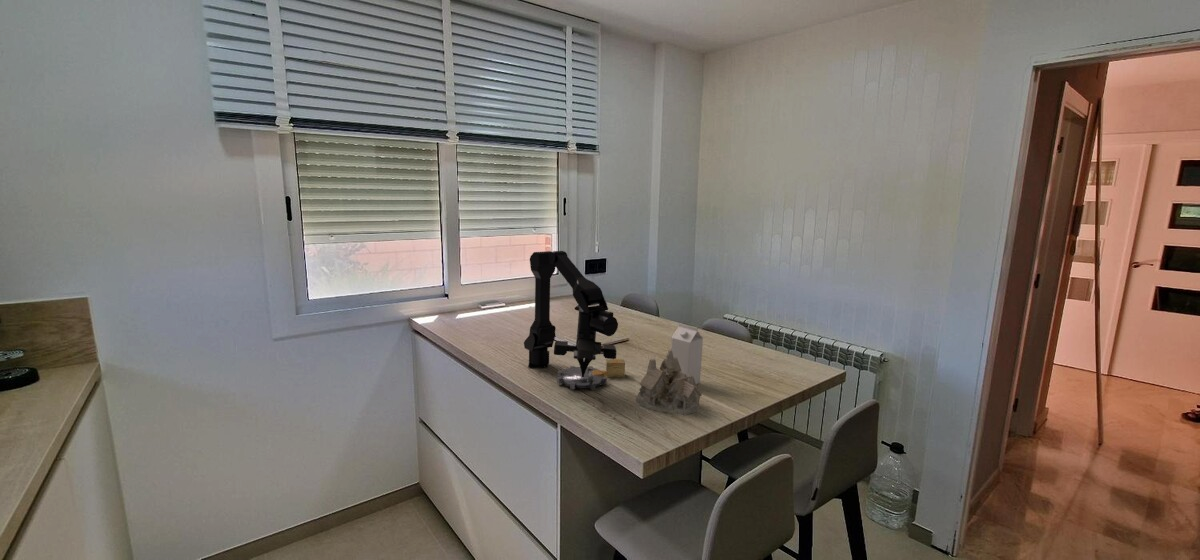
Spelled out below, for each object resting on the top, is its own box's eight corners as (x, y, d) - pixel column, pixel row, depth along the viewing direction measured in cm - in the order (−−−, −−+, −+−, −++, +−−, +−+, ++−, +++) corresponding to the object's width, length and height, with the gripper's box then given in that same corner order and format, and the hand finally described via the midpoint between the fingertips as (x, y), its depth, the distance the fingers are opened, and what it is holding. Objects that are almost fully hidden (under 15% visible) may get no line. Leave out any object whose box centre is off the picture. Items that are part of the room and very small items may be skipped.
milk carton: (682, 377, 158) (685, 321, 155) (700, 383, 153) (704, 326, 150) (668, 382, 153) (672, 325, 150) (687, 388, 148) (690, 329, 145)
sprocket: (568, 393, 141) (568, 374, 140) (548, 374, 155) (549, 357, 154) (617, 385, 148) (617, 367, 147) (594, 368, 162) (594, 351, 161)
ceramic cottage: (629, 396, 141) (635, 348, 138) (677, 391, 147) (684, 346, 144) (654, 422, 127) (661, 370, 124) (706, 416, 133) (714, 366, 130)
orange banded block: (606, 377, 156) (606, 362, 155) (605, 373, 160) (606, 359, 159) (624, 377, 157) (625, 362, 156) (623, 373, 160) (623, 359, 159)
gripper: (554, 332, 135) (550, 384, 137) (619, 337, 136) (614, 389, 138) (556, 322, 146) (553, 370, 148) (617, 326, 147) (612, 375, 149)
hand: (582, 376), depth 146 cm, fingers closed
